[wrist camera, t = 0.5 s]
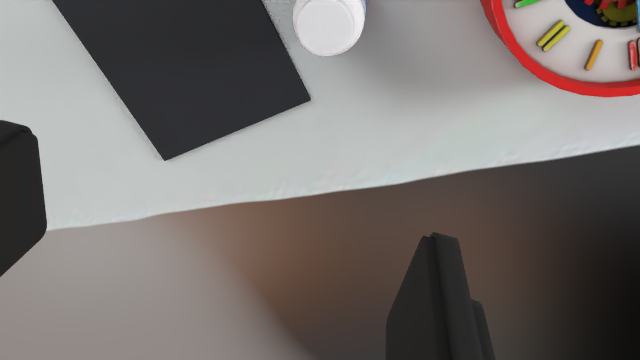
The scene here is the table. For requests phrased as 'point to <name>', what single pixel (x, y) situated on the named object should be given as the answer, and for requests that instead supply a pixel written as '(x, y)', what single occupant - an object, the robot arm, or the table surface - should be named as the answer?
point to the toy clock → (573, 42)
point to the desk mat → (189, 65)
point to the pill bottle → (328, 24)
